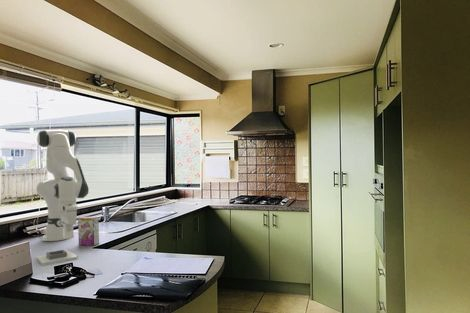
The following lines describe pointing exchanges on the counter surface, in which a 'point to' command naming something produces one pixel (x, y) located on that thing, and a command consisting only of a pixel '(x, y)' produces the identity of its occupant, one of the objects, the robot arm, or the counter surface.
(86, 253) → the counter surface
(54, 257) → the socket plate
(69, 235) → the charger block
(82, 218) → the candy bar box
